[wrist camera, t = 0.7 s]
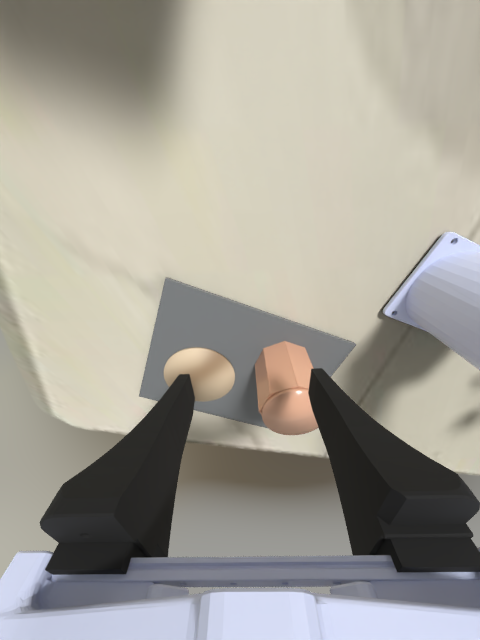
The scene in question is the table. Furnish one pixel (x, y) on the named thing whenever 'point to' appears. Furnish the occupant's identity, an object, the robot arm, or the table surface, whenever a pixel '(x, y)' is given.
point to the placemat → (228, 345)
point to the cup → (285, 389)
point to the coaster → (202, 372)
